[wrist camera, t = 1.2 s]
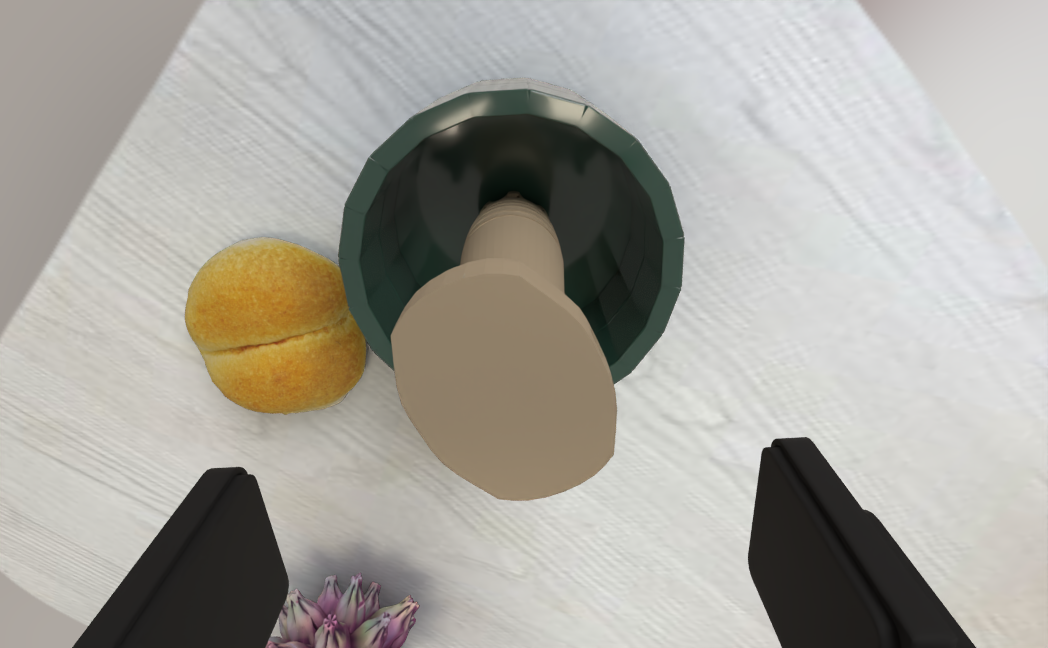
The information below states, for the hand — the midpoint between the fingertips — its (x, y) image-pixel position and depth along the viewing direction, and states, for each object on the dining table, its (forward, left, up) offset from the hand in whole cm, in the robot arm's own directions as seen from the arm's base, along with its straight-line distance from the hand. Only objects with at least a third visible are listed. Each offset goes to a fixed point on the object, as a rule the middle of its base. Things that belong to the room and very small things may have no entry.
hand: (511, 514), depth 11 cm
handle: (0, 0, -19) cm, 19 cm away
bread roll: (+4, -12, -19) cm, 23 cm away
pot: (0, 0, -19) cm, 19 cm away
